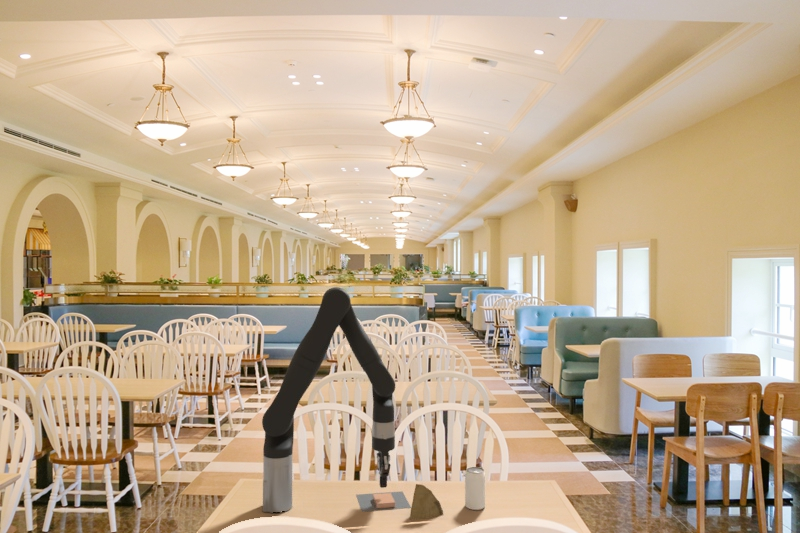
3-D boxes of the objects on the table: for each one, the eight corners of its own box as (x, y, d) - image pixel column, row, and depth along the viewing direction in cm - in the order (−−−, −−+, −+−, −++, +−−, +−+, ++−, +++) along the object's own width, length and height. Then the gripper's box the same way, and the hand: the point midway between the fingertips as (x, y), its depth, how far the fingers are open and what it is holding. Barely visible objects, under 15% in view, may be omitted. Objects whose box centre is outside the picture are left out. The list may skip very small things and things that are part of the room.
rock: (446, 503, 188) (416, 496, 190) (447, 488, 183) (416, 481, 185) (439, 535, 180) (408, 527, 182) (440, 520, 175) (407, 512, 177)
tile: (372, 499, 195) (376, 508, 188) (372, 494, 195) (376, 503, 188) (390, 497, 197) (395, 507, 189) (390, 492, 197) (395, 502, 189)
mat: (361, 513, 185) (361, 511, 185) (356, 496, 199) (356, 494, 199) (411, 509, 189) (411, 507, 189) (402, 493, 202) (402, 491, 202)
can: (469, 511, 187) (469, 474, 187) (462, 503, 193) (462, 467, 193) (488, 509, 189) (488, 472, 189) (480, 501, 195) (480, 465, 195)
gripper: (369, 429, 199) (369, 480, 199) (375, 440, 186) (375, 495, 186) (391, 428, 201) (390, 478, 201) (398, 439, 188) (398, 493, 188)
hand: (383, 486), depth 193 cm, fingers closed
